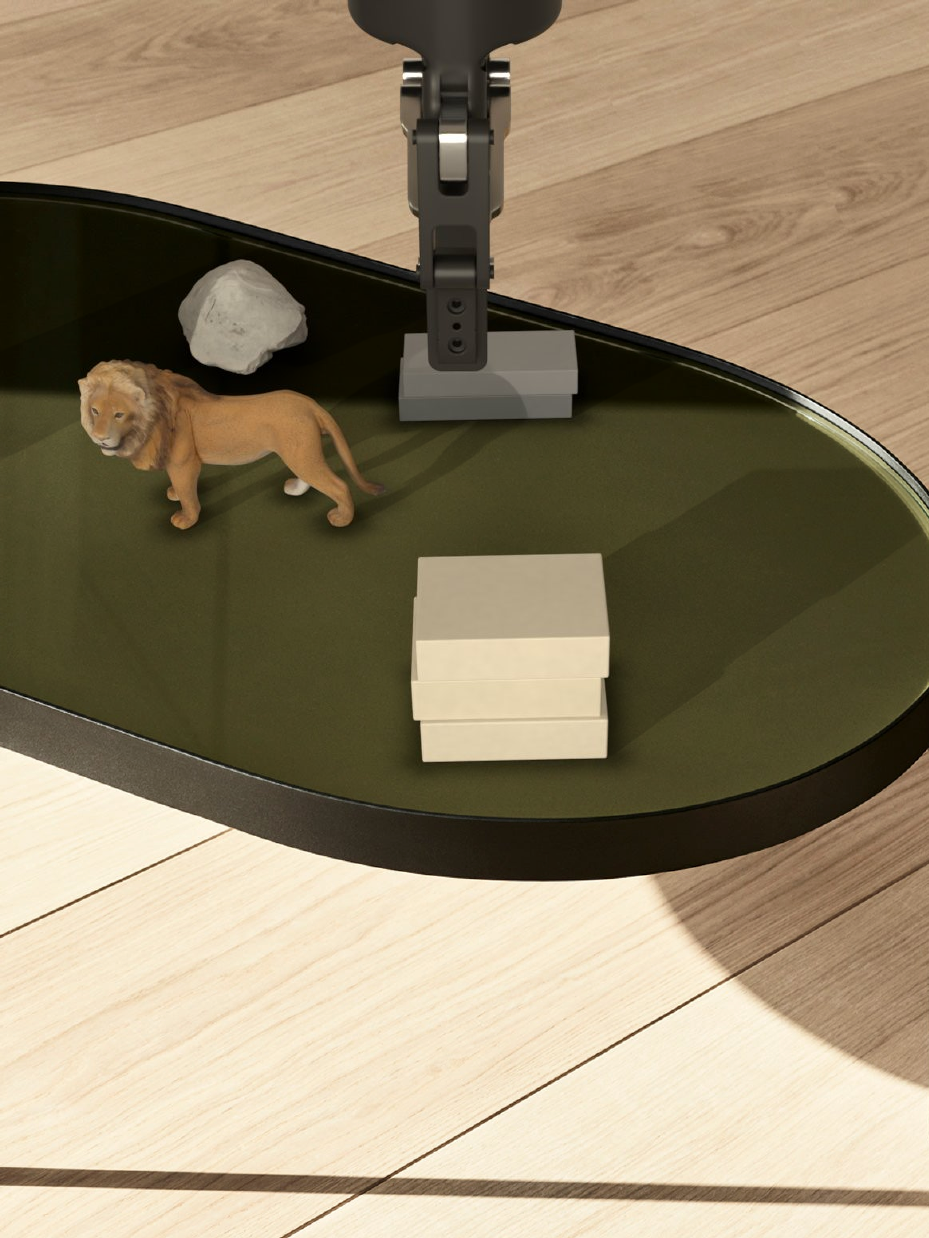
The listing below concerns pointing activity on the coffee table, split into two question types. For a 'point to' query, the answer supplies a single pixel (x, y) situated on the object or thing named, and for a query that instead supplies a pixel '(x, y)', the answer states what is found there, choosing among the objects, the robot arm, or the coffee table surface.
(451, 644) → the cream flat block
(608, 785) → the coffee table surface
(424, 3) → the robot arm
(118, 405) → the lion figurine
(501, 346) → the grey block
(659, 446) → the coffee table surface
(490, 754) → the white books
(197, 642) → the coffee table surface
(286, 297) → the grey stone
